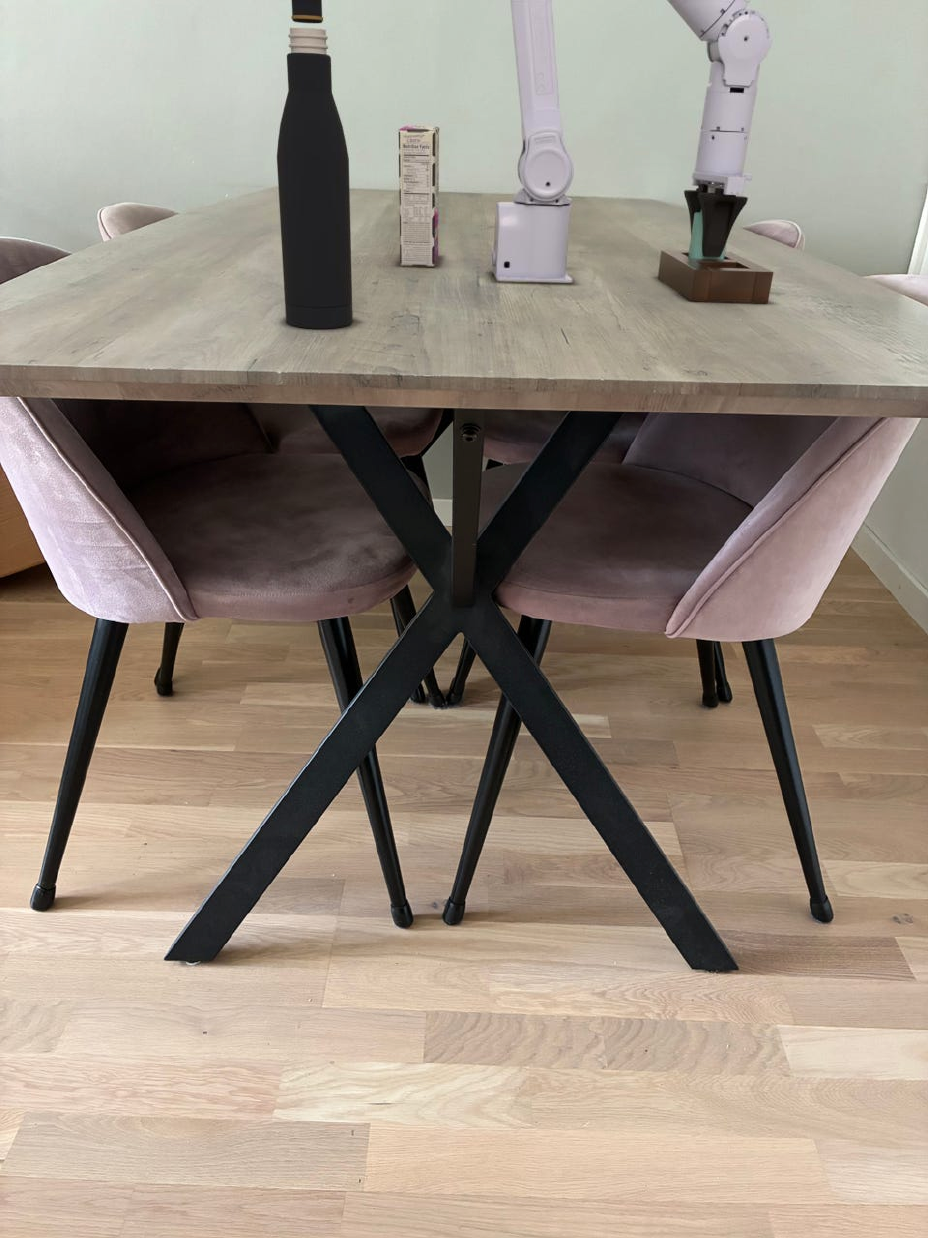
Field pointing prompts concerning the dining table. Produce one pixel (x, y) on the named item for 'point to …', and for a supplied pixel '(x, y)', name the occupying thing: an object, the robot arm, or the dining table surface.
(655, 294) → the dining table surface
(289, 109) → the black bottle
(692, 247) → the small bottle
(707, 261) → the peg block
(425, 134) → the candy bar box
